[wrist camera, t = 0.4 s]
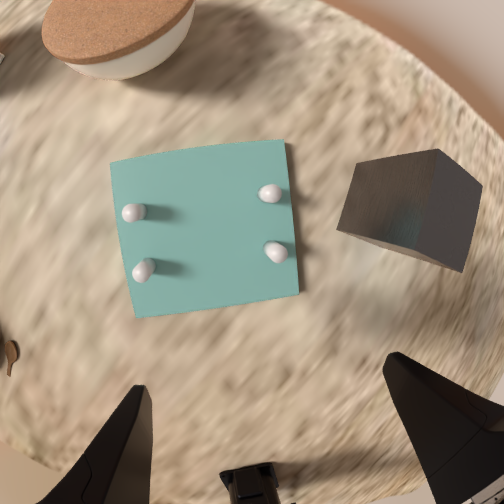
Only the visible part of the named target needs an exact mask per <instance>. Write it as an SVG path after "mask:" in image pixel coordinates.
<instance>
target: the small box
mask: <svg viewBox="0 0 504 504" xmlns="http://www.w3.org/2000/svg"><path fill="white" fill-rule="evenodd" d="M4 57H5V55H4V54H2V53H1V52H0V63H1V62H2V60H3V58H4Z"/></svg>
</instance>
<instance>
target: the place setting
mask: <svg viewBox="0 0 504 504" xmlns="http://www.w3.org/2000/svg"><path fill="white" fill-rule="evenodd" d="M5 353H6V356H7V359H8V369H7V375H8V376H9V377H10V375H11V365H12V363H13V362H15V361H16V359H17V349H16V346H15V344H14V343H13V342H12V341H8V342H7V343H6V344H5Z"/></svg>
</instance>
